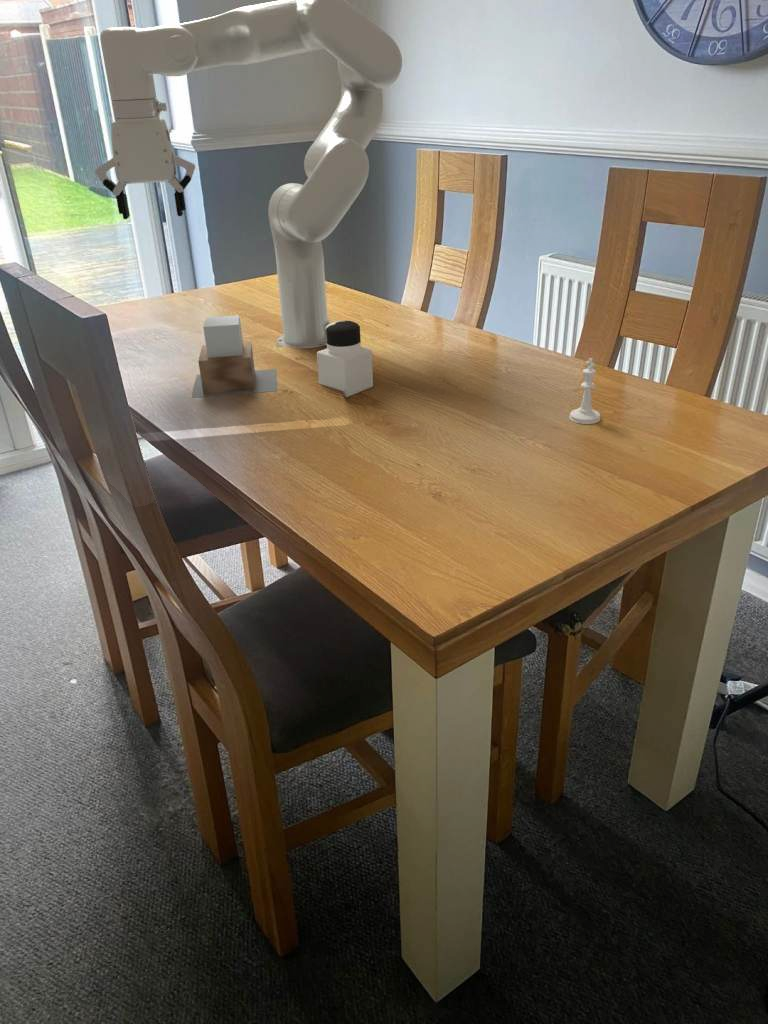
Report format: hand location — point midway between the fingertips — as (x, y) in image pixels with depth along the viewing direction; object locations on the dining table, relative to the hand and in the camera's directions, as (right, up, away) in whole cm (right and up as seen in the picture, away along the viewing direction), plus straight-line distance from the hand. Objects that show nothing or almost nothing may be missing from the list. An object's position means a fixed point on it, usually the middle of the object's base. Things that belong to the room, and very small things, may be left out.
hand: (153, 216), depth 144 cm
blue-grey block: (+14, -25, -2) cm, 29 cm away
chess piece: (+75, -39, -16) cm, 86 cm away
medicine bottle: (+35, -32, 0) cm, 47 cm away
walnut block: (+14, -30, +1) cm, 33 cm away
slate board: (+15, -31, +1) cm, 35 cm away
